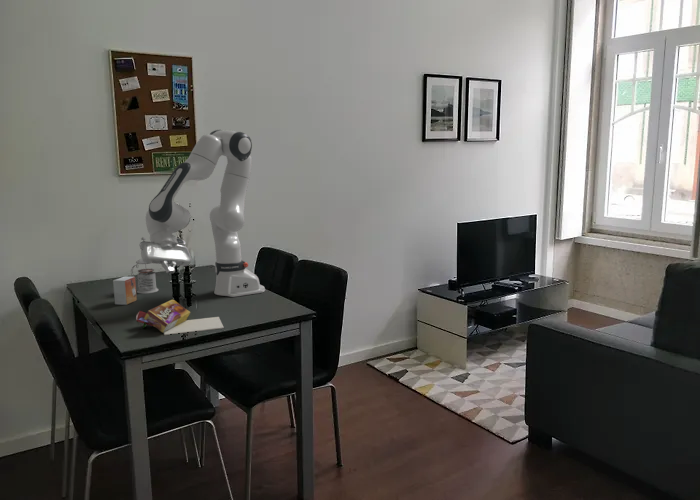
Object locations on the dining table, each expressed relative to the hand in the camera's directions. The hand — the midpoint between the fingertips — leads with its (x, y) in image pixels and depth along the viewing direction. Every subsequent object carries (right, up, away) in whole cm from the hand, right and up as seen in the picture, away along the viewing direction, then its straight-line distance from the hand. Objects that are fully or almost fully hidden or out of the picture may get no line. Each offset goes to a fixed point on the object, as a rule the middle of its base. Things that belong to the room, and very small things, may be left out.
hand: (170, 272), depth 224 cm
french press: (-24, -10, +39) cm, 47 cm away
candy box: (+6, -14, -8) cm, 17 cm away
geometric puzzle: (-4, -20, -15) cm, 25 cm away
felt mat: (+12, -19, -14) cm, 27 cm away
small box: (-25, -14, +20) cm, 35 cm away
